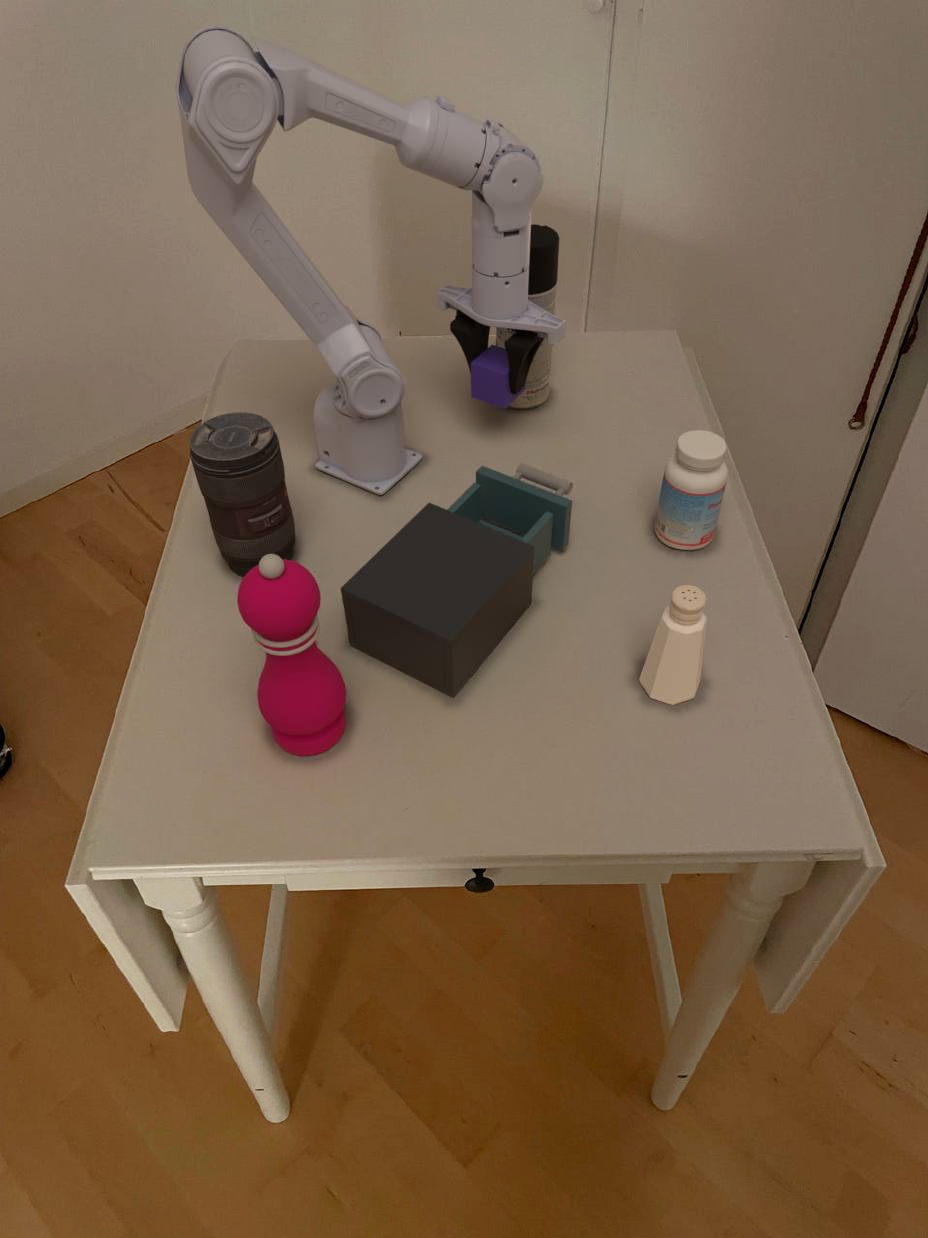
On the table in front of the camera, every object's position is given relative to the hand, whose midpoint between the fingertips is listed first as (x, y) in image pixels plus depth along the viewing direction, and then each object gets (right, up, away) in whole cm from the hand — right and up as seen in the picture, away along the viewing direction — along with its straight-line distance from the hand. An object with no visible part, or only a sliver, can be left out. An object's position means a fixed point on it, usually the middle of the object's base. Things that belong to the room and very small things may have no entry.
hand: (498, 382), depth 101 cm
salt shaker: (+14, -32, -19) cm, 40 cm away
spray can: (+3, +1, +12) cm, 12 cm away
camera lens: (-25, -20, -7) cm, 32 cm away
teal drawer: (0, -19, -9) cm, 21 cm away
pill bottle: (+19, -17, -6) cm, 26 cm away
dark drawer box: (-6, -27, -14) cm, 31 cm away
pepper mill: (-17, -35, -22) cm, 45 cm away
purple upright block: (0, -1, +1) cm, 1 cm away
